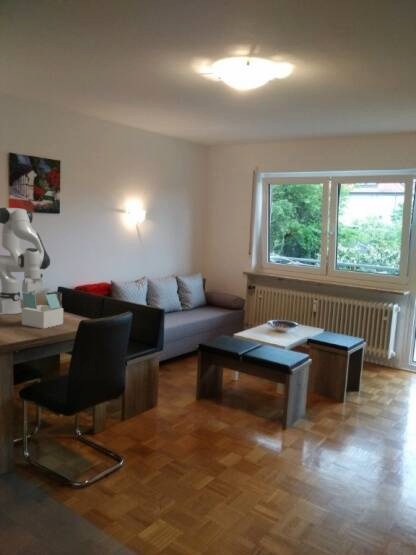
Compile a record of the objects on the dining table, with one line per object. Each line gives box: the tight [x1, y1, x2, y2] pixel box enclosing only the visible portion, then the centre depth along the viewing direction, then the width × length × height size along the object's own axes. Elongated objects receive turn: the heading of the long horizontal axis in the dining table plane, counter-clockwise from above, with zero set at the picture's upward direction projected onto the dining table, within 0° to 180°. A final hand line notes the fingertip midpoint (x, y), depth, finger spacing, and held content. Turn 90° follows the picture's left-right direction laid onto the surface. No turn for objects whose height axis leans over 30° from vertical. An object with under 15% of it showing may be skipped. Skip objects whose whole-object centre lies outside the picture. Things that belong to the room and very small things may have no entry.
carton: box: [21, 304, 64, 330], centre depth 275 cm, size 19×17×10 cm
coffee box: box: [46, 291, 63, 308], centre depth 299 cm, size 9×6×16 cm
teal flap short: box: [44, 294, 60, 309], centre depth 273 cm, size 1×8×9 cm, turn 154°
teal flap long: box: [22, 292, 38, 309], centre depth 267 cm, size 10×1×9 cm, turn 65°
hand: (32, 298), depth 267 cm, fingers closed
